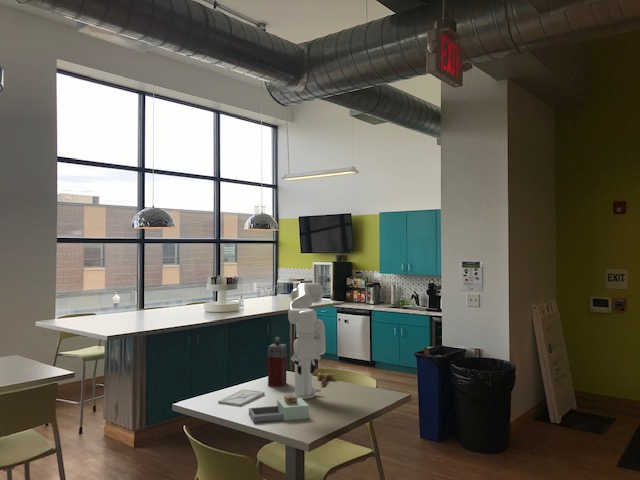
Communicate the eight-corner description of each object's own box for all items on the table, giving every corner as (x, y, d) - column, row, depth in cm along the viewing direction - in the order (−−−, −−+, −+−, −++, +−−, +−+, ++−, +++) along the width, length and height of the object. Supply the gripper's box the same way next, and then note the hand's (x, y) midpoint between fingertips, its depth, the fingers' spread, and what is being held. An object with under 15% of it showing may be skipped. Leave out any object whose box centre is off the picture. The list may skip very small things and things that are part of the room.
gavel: (330, 382, 301) (313, 382, 302) (330, 390, 301) (313, 390, 302) (334, 372, 322) (318, 371, 323) (334, 379, 322) (318, 379, 323)
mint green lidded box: (300, 409, 257) (300, 397, 257) (308, 418, 244) (308, 405, 244) (277, 412, 254) (277, 399, 254) (283, 420, 240) (283, 407, 240)
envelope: (218, 404, 268) (240, 407, 263) (218, 400, 268) (240, 403, 263) (243, 392, 290) (264, 395, 285) (243, 388, 290) (264, 391, 285)
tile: (294, 400, 252) (294, 394, 252) (297, 403, 247) (297, 397, 247) (284, 401, 250) (284, 395, 250) (286, 404, 245) (286, 398, 246)
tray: (277, 412, 254) (277, 405, 254) (283, 420, 240) (283, 414, 240) (248, 414, 249) (248, 408, 249) (253, 423, 236) (253, 416, 236)
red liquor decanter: (268, 382, 314) (268, 335, 315) (286, 383, 312) (286, 336, 313) (264, 385, 305) (264, 337, 306) (282, 386, 303) (282, 338, 304)
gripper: (320, 334, 258) (320, 371, 257) (287, 335, 253) (286, 373, 252) (325, 336, 251) (325, 374, 250) (290, 338, 246) (290, 376, 245)
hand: (305, 373), depth 251 cm, fingers open, 5 cm apart
